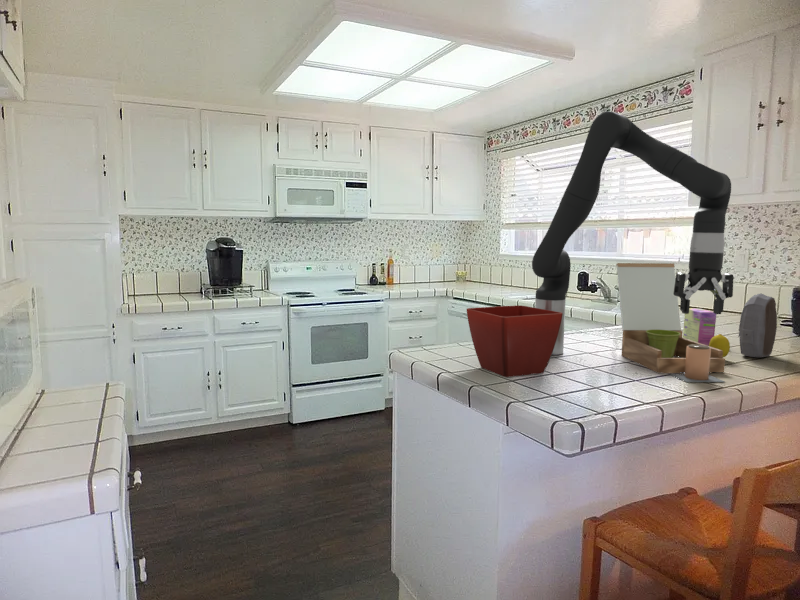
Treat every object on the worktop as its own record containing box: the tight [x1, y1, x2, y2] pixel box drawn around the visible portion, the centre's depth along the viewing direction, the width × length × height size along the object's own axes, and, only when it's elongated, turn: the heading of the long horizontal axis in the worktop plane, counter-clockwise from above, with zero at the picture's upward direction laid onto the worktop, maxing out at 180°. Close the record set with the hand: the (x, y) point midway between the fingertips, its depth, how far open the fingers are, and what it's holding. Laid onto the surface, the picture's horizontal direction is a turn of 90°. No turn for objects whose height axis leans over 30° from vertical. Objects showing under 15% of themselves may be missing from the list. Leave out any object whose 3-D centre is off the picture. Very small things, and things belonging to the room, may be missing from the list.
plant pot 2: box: [646, 330, 681, 358], centre depth 163 cm, size 9×9×9 cm
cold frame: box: [621, 329, 726, 374], centre depth 158 cm, size 18×22×8 cm
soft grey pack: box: [737, 293, 778, 358], centre depth 169 cm, size 15×8×20 cm, turn 129°
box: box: [682, 307, 717, 346], centre depth 191 cm, size 10×6×12 cm, turn 179°
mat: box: [669, 373, 726, 383], centre depth 142 cm, size 10×8×1 cm
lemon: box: [709, 333, 731, 358], centre depth 164 cm, size 6×6×8 cm
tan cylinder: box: [684, 344, 711, 380], centre depth 141 cm, size 6×6×8 cm
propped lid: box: [615, 262, 682, 332], centre depth 174 cm, size 18×12×29 cm, turn 92°
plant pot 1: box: [466, 304, 563, 378], centre depth 148 cm, size 19×19×17 cm
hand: (701, 313), depth 140 cm, fingers open, 8 cm apart
